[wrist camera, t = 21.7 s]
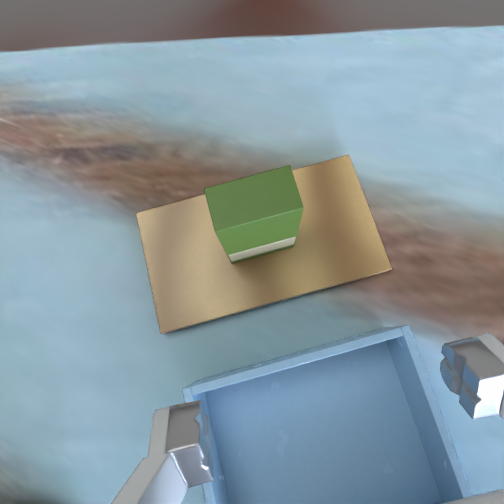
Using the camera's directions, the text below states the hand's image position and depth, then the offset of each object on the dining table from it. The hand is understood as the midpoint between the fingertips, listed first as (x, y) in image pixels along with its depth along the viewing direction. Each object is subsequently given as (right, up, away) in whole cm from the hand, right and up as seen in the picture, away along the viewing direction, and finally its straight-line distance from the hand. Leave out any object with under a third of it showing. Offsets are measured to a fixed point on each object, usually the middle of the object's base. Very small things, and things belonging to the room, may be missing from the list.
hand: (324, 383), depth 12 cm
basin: (+3, -10, +16) cm, 19 cm away
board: (-2, +5, +20) cm, 21 cm away
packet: (-2, +5, +19) cm, 20 cm away
